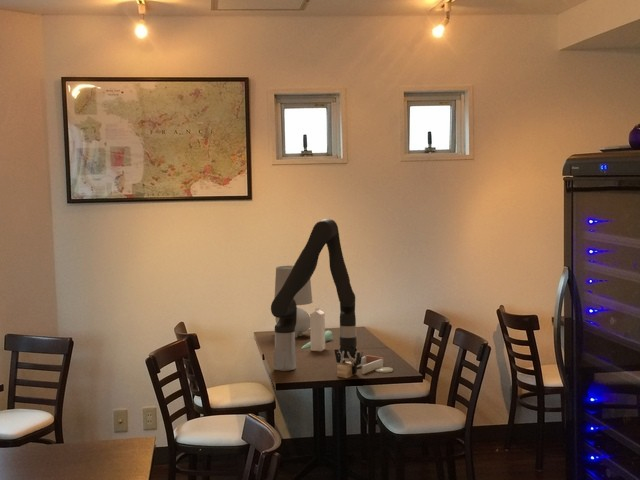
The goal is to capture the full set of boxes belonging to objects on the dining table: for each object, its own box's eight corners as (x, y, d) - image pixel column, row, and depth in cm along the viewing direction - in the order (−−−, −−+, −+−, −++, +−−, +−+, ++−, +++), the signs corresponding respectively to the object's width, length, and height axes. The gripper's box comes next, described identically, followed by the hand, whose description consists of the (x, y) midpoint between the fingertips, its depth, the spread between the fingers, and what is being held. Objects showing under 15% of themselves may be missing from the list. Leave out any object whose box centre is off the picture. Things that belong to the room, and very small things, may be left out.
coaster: (387, 373, 310) (387, 372, 310) (371, 371, 314) (371, 369, 314) (396, 370, 316) (396, 368, 316) (381, 367, 321) (381, 366, 321)
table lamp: (265, 337, 396) (263, 266, 393) (288, 330, 414) (287, 263, 411) (298, 341, 383) (296, 268, 380) (320, 334, 400) (319, 264, 398)
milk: (310, 350, 359) (309, 308, 358) (314, 348, 365) (313, 306, 363) (322, 351, 357) (320, 308, 356) (325, 348, 363) (324, 306, 361)
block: (347, 378, 304) (346, 366, 303) (337, 376, 306) (337, 365, 306) (356, 374, 310) (356, 362, 310) (346, 372, 313) (346, 361, 313)
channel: (363, 373, 310) (363, 364, 310) (345, 370, 316) (344, 362, 316) (384, 366, 324) (384, 357, 323) (366, 363, 330) (365, 354, 329)
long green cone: (297, 338, 364) (324, 330, 387) (297, 349, 365) (324, 339, 387) (305, 339, 361) (332, 330, 384) (306, 350, 362) (333, 340, 384)
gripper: (366, 335, 307) (367, 373, 308) (339, 332, 316) (340, 369, 317) (356, 338, 301) (357, 377, 302) (329, 335, 310) (330, 373, 311)
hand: (348, 373), depth 309 cm, fingers closed on block, 5 cm apart
